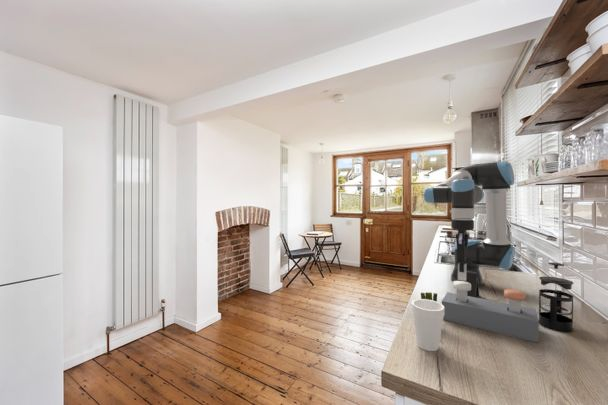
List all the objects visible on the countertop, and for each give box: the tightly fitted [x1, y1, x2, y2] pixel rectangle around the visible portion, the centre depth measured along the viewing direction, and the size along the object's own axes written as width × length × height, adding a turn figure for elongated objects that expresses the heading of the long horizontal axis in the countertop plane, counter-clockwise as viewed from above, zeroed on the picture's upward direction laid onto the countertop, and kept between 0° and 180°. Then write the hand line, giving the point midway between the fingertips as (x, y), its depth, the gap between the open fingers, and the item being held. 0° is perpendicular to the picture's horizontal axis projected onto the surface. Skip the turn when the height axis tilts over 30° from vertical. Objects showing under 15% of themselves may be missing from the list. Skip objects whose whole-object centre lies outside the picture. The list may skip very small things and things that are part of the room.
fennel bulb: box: [420, 292, 438, 302], centre depth 97 cm, size 6×5×12 cm
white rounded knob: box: [452, 281, 471, 302], centre depth 103 cm, size 6×6×8 cm
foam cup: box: [411, 298, 445, 352], centre depth 84 cm, size 10×9×13 cm
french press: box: [538, 261, 575, 334], centre depth 96 cm, size 12×9×23 cm
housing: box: [441, 291, 540, 344], centre depth 98 cm, size 12×28×7 cm, turn 52°
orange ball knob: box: [503, 288, 527, 313], centre depth 93 cm, size 6×6×8 cm
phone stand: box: [462, 270, 481, 298], centre depth 125 cm, size 9×6×12 cm, turn 134°
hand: (462, 279), depth 103 cm, fingers closed
